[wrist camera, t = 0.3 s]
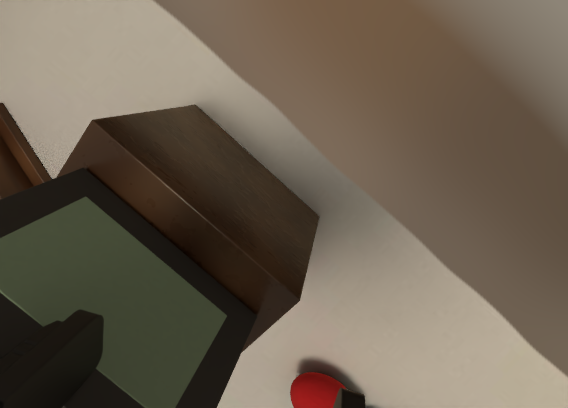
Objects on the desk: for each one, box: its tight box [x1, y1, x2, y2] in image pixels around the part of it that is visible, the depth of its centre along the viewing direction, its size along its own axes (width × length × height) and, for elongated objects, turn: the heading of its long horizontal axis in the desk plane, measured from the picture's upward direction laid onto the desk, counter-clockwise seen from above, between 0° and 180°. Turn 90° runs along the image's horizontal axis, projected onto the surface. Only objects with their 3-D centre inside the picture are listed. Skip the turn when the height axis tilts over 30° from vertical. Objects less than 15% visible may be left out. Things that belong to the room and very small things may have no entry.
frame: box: [0, 168, 257, 408], centre depth 16 cm, size 12×2×9 cm, turn 49°
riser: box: [56, 105, 319, 353], centre depth 26 cm, size 14×7×13 cm, turn 49°
